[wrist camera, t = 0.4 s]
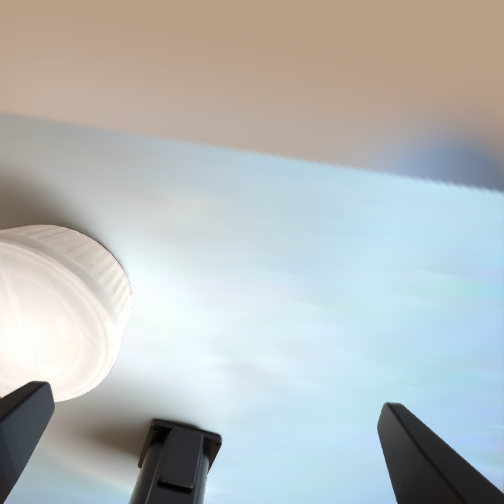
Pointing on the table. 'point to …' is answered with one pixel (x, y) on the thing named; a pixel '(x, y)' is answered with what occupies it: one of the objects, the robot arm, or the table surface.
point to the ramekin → (59, 310)
